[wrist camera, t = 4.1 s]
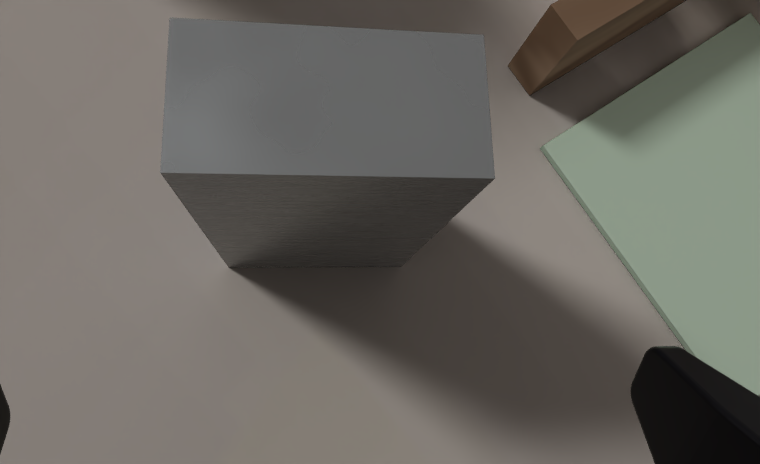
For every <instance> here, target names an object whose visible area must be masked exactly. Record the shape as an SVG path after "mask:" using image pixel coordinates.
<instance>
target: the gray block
mask: <svg viewBox="0 0 760 464" xmlns="http://www.w3.org/2000/svg"><path fill="white" fill-rule="evenodd" d="M160 173H161V174H162V176H163V177H164V178H165V180H166V181H167V183H168V184H169V185H170V187H171V188H172V190H173V191H174V192H175V194H176V195H177V196H178V198H179V199H180V201H181V202H182V203H183V205H184V206H185V208H186V209H187V210H188V212H189V213H190V215H191V216H192V217H193V219H194V220H195V221H196V223H197V224H198V226H199V227H200V228H201V230H202V231H203V233H204V234H205V235H206V237H207V238H208V239H209V241H210V242H211V244H212V245H213V246H214V248H215V249H216V251H217V252H218V253H219V255H220V256H221V258H222V259H223V260H224V262H225V263H226V264H227V266H228V267H394V266H402V265H403V264H404V263H405V262H406V261H407V260H408V259H409V258H411V257H412V256H413V255H414V254H415V253H416V252H417V251H418V250H419V249H420V248H421V247H422V246H423V245H424V244H425V243H427V242H428V241H429V240H430V239H431V238H432V237H433V236H434V235H435V234H436V233H437V232H438V231H439V230H440V229H442V228H443V227H444V226H445V225H446V224H447V223H448V222H449V221H450V220H451V219H452V218H453V217H454V216H455V215H456V214H458V213H459V212H460V211H461V210H462V209H463V208H464V207H465V206H466V205H467V204H468V203H469V202H470V201H471V200H472V199H474V198H475V197H476V196H477V195H478V194H479V193H480V192H481V191H482V190H483V189H484V188H485V187H486V186H487V185H488V184H490V183H491V182H492V181H493V180H494V179H495V173H494V160H493V147H492V135H491V122H490V109H489V96H488V83H487V70H486V57H485V45H484V35H477V34H459V33H441V32H422V31H404V30H386V29H368V28H350V27H331V26H313V25H295V24H277V23H258V22H240V21H222V20H204V19H186V18H170V20H169V37H168V53H167V70H166V87H165V104H164V120H163V137H162V154H161V170H160Z"/></svg>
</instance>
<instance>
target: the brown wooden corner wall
mask: <svg viewBox="0 0 760 464" xmlns="http://www.w3.org/2000/svg"><path fill="white" fill-rule="evenodd" d="M684 1H686V0H558V1H557V2H555V3H553V4H551V5H550V7H549V8H548V9H547V11H546V12H545V14H544V15H543V17H542V18H541V19H540V21H539V22H538V24H537V25H536V26H535V28H534V29H533V31H532V32H531V34H530V35H529V36H528V38H527V39H526V41H525V42H524V43H523V45H522V46H521V48H520V49H519V51H518V52H517V53H516V55H515V56H514V58H513V59H512V60H511V62H510V63H509V65H508V67H509V68H510V70H511V71H512V72H513V74H514V75H515V76H516V78H517V79H518V80H519V82H520V83H521V85H522V86H523V87H524V89H525V90H526V91H527V93H528V94H529V96H530V95H531V94H533V93H535V92H536V91H538V90H540V89H541V88H543V87H545V86H546V85H548V84H549V83H551V82H553V81H554V80H556V79H558V78H559V77H561V76H563V75H564V74H566V73H568V72H569V71H571V70H573V69H574V68H576V67H577V66H579V65H581V64H582V63H584V62H586V61H587V60H589V59H591V58H592V57H594V56H596V55H597V54H599V53H600V52H602V51H604V50H605V49H607V48H609V47H610V46H612V45H614V44H615V43H617V42H619V41H620V40H622V39H624V38H625V37H627V36H628V35H630V34H632V33H633V32H635V31H637V30H638V29H640V28H642V27H643V26H645V25H647V24H648V23H650V22H651V21H653V20H655V19H656V18H658V17H660V16H661V15H663V14H665V13H666V12H668V11H670V10H671V9H673V8H675V7H676V6H678V5H679V4H681V3H683V2H684Z"/></svg>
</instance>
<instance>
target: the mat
mask: <svg viewBox="0 0 760 464" xmlns="http://www.w3.org/2000/svg"><path fill="white" fill-rule="evenodd" d="M540 149H541V150H542V152H543V153H544V155H545V156H546V157H547V159H548V160H549V162H550V163H551V164H552V166H553V167H554V168H555V170H556V171H557V173H558V174H559V175H560V177H561V178H562V180H563V181H564V182H565V184H566V185H567V186H568V188H569V189H570V191H571V192H572V193H573V195H574V196H575V198H576V199H577V200H578V202H579V203H580V204H581V206H582V207H583V209H584V210H585V211H586V213H587V214H588V215H589V217H590V218H591V220H592V221H593V222H594V224H595V225H596V227H597V228H598V229H599V231H600V232H601V233H602V235H603V236H604V238H605V239H606V240H607V242H608V243H609V245H610V246H611V247H612V249H613V250H614V251H615V253H616V254H617V256H618V257H619V258H620V260H621V261H622V263H623V264H624V265H625V267H626V268H627V269H628V271H629V272H630V274H631V275H632V276H633V278H634V279H635V281H636V282H637V283H638V285H639V286H640V287H641V289H642V290H643V292H644V293H645V294H646V296H647V297H648V299H649V300H650V301H651V303H652V304H653V305H654V307H655V308H656V310H657V311H658V312H659V314H660V315H661V316H662V318H663V319H664V321H665V322H666V323H667V325H668V326H669V328H670V329H671V330H672V332H673V333H674V334H675V336H676V337H677V339H678V340H679V341H680V343H681V344H682V346H683V347H684V348H685V350H686V351H687V352H688V353H690V354H692V355H693V356H695V357H697V358H698V359H700V360H701V361H703V362H705V363H706V364H708V365H709V366H711V367H713V368H714V369H716V370H718V371H719V372H721V373H722V374H724V375H726V376H727V377H729V378H730V379H732V380H734V381H735V382H737V383H739V384H740V385H742V386H743V387H745V388H747V389H748V390H750V391H751V392H753V393H755V394H756V395H758V396H759V395H760V24H759V23H758V22H757V21H756V19H755V18H754V17H753V16H752V14H751V13H749V14H748V15H746V16H745V17H743V18H742V19H740V20H738V21H737V22H735V23H734V24H732V25H731V26H729V27H727V28H726V29H724V30H723V31H721V32H720V33H718V34H717V35H715V36H713V37H712V38H710V39H709V40H707V41H706V42H704V43H703V44H701V45H699V46H698V47H696V48H695V49H693V50H692V51H690V52H688V53H687V54H685V55H684V56H682V57H681V58H679V59H678V60H676V61H674V62H673V63H671V64H670V65H668V66H667V67H665V68H663V69H662V70H660V71H659V72H657V73H656V74H654V75H653V76H651V77H649V78H648V79H646V80H645V81H643V82H642V83H640V84H639V85H637V86H635V87H634V88H632V89H631V90H629V91H628V92H626V93H624V94H623V95H621V96H620V97H618V98H617V99H615V100H614V101H612V102H610V103H609V104H607V105H606V106H604V107H603V108H601V109H600V110H598V111H596V112H595V113H593V114H592V115H590V116H589V117H587V118H585V119H584V120H582V121H581V122H579V123H578V124H576V125H575V126H573V127H571V128H570V129H568V130H567V131H565V132H564V133H562V134H560V135H559V136H557V137H556V138H554V139H553V140H551V141H550V142H548V143H546V144H545V145H543V146H542V147H541V148H540Z"/></svg>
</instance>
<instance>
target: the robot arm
mask: <svg viewBox="0 0 760 464" xmlns="http://www.w3.org/2000/svg"><path fill="white" fill-rule="evenodd" d="M631 398H632V402H633V405H634V408H635V411H636V413H637V416H638V419H639V422H640V424H641V427H642V430H643V432H644V435H645V438H646V441H647V443H648V446H649V449H650V452H651V454H652V457H653V460H654V462H655V464H760V396H758V395H756V394H755V393H753V392H751V391H750V390H748V389H747V388H745V387H743V386H742V385H740V384H739V383H737V382H735V381H734V380H732V379H730V378H729V377H727V376H726V375H724V374H722V373H721V372H719V371H718V370H716V369H714V368H713V367H711V366H709V365H708V364H706V363H705V362H703V361H701V360H700V359H698V358H697V357H695V356H693V355H692V354H690V353H688V352H687V351H685V350H684V349H682V348H680V347H676V346H658V347H651V348H650V349H649V350H647V351H646V353H645V355H644V357H643V360H642V362H641V364H640V366H639V369H638V371H637V373H636V375H635V378H634V380H633V382H632V385H631ZM9 423H10V409H9V405H8V403H7V400H6V398H5V395H4V393H3V390H2V387H1V385H0V453H1V450H2V447H3V444H4V441H5V438H6V434H7V431H8V428H9Z"/></svg>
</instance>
